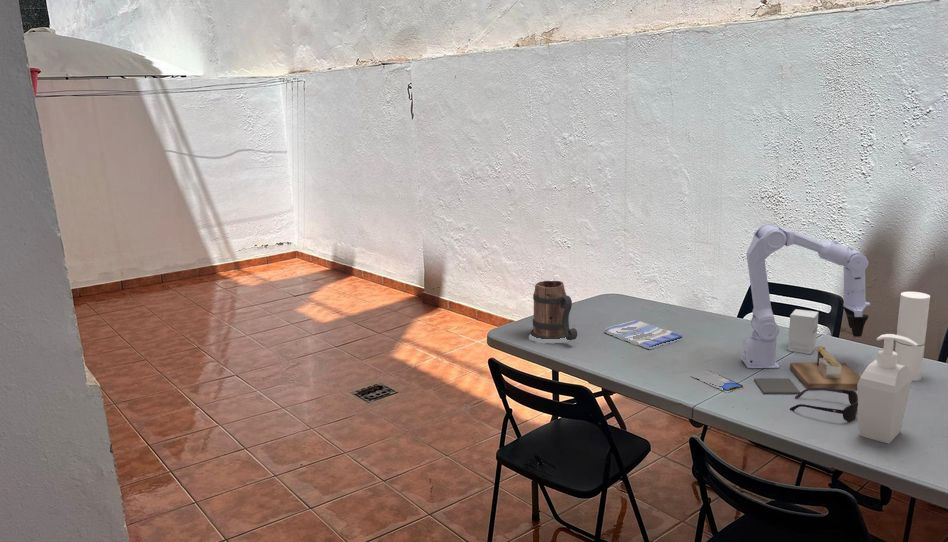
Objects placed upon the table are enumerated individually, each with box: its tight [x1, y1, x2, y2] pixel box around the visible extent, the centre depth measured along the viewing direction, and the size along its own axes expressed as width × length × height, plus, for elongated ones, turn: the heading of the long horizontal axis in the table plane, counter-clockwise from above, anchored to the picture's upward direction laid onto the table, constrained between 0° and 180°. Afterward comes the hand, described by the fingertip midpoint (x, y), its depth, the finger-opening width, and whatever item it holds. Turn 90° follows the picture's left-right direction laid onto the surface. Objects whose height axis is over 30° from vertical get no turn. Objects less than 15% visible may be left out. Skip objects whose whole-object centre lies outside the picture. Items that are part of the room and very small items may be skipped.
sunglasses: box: [789, 388, 858, 423], centre depth 186 cm, size 14×16×5 cm
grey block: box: [818, 357, 841, 379], centre depth 204 cm, size 4×6×4 cm, turn 173°
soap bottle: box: [856, 333, 918, 445], centre depth 169 cm, size 12×10×26 cm
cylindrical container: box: [894, 291, 931, 382], centre depth 202 cm, size 7×7×25 cm
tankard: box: [529, 280, 578, 341], centre depth 249 cm, size 24×17×20 cm
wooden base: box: [789, 352, 861, 391], centre depth 205 cm, size 16×16×6 cm
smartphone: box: [709, 370, 744, 391], centre depth 208 cm, size 8×15×1 cm, turn 26°
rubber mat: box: [753, 377, 801, 395], centre depth 202 cm, size 10×10×1 cm
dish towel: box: [604, 319, 683, 348], centre depth 250 cm, size 17×24×3 cm
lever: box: [816, 346, 840, 367], centre depth 205 cm, size 14×2×1 cm, turn 173°
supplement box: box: [787, 308, 819, 355], centre depth 228 cm, size 7×7×13 cm
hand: (855, 332), depth 213 cm, fingers open, 7 cm apart
